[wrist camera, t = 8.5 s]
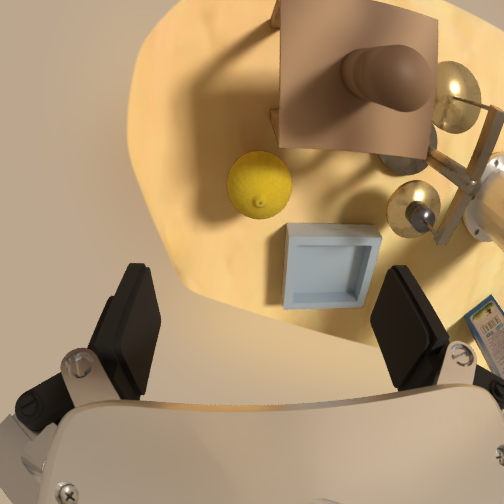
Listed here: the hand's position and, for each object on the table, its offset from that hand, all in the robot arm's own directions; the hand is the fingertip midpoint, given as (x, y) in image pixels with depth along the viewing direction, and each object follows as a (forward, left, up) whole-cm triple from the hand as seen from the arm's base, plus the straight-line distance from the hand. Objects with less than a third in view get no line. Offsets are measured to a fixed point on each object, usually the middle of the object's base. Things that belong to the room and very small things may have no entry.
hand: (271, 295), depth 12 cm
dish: (-8, +13, -20) cm, 25 cm away
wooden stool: (-6, -8, -20) cm, 22 cm away
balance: (-15, -2, -20) cm, 25 cm away
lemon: (0, +2, -20) cm, 20 cm away
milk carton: (-41, +26, -20) cm, 52 cm away
